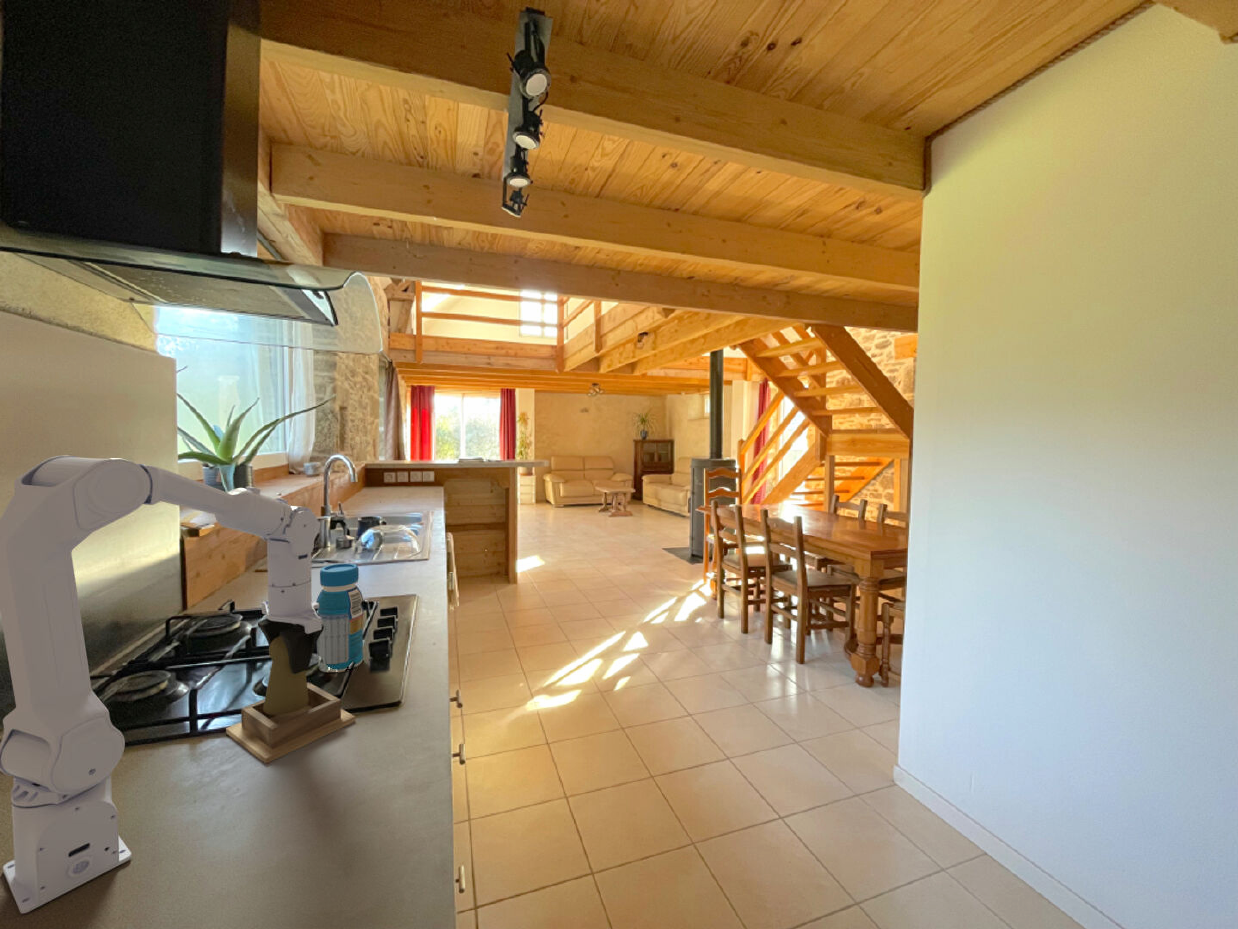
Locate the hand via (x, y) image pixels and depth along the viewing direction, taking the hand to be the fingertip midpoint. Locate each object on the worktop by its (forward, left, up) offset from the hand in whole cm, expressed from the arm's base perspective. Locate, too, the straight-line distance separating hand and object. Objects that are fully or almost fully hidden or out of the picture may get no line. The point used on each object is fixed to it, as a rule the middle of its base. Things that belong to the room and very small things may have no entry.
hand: (291, 666), depth 80 cm
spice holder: (0, 0, -10) cm, 10 cm away
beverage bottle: (+15, -16, -10) cm, 24 cm away
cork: (0, +1, -6) cm, 6 cm away
